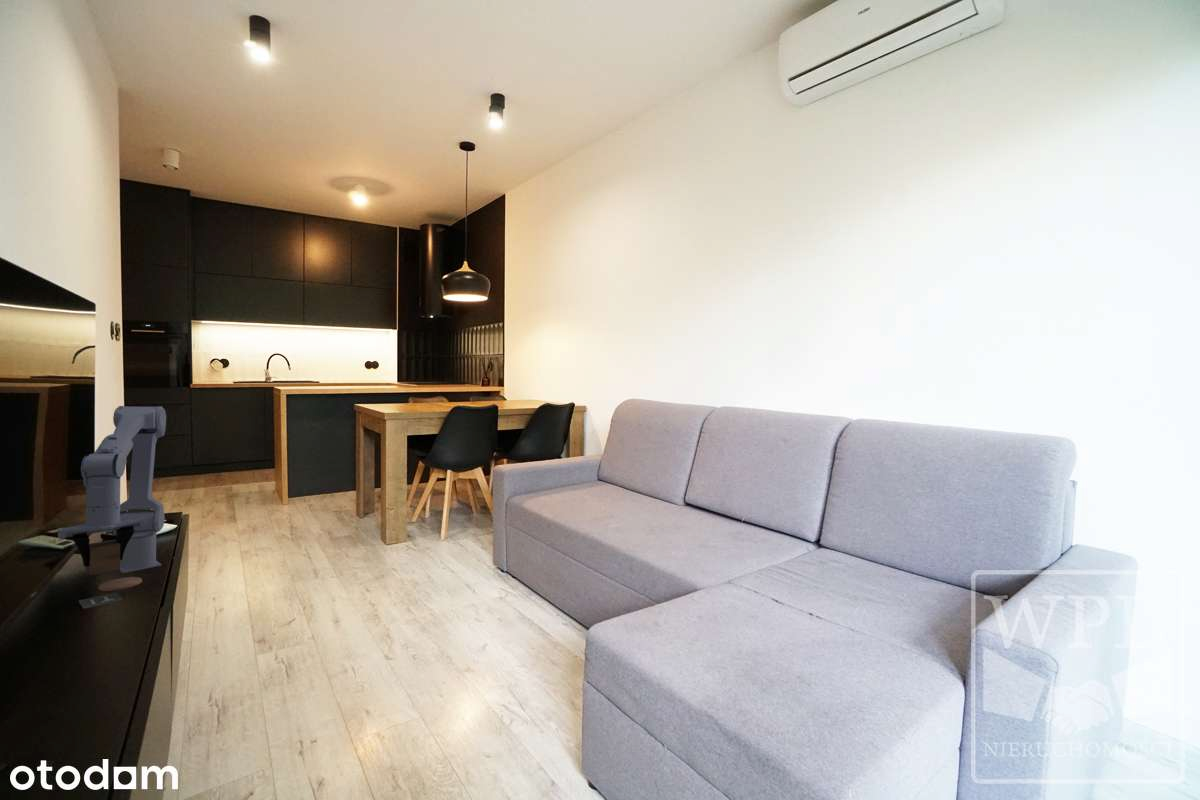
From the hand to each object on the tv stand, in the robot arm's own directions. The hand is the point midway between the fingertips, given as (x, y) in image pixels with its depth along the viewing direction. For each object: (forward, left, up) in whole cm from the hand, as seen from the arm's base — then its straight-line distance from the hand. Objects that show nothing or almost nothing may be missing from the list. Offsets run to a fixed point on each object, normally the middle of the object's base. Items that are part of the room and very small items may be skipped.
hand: (103, 562), depth 121 cm
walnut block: (0, 0, -2) cm, 2 cm away
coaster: (-8, +4, -9) cm, 12 cm away
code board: (+1, -1, -9) cm, 9 cm away
